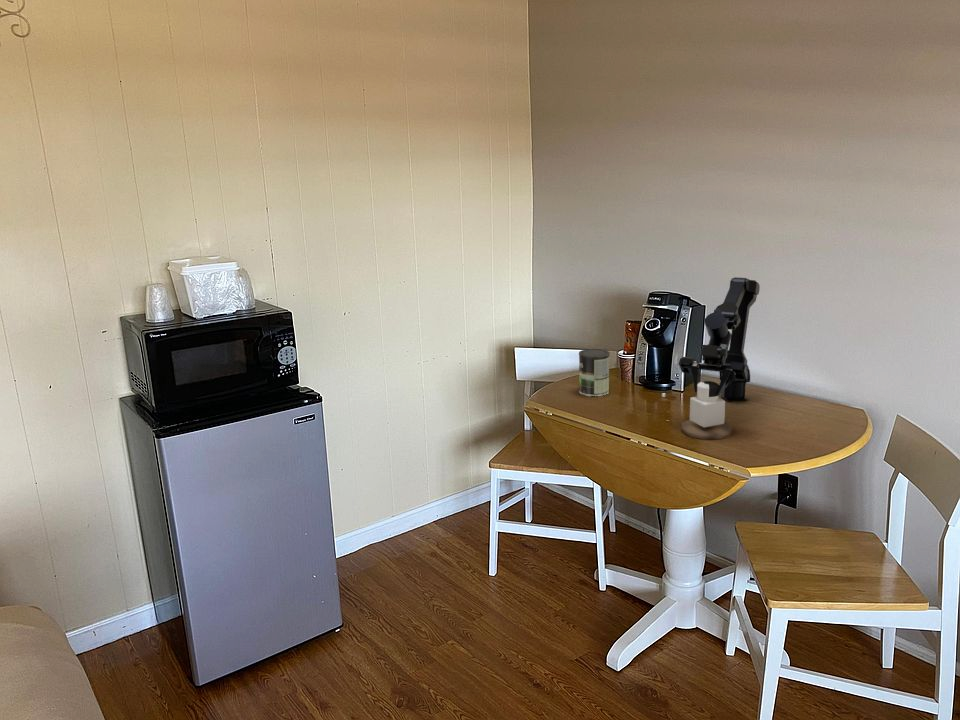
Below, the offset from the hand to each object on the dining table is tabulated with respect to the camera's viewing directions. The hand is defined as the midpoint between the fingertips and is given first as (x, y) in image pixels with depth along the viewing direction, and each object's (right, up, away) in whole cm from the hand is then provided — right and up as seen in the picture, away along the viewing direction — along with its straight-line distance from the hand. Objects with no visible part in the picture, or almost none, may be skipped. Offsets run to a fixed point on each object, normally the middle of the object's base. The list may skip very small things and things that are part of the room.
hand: (706, 393), depth 218 cm
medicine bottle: (+1, -9, +4) cm, 10 cm away
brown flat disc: (+1, -11, +4) cm, 12 cm away
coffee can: (-26, -2, +43) cm, 50 cm away
